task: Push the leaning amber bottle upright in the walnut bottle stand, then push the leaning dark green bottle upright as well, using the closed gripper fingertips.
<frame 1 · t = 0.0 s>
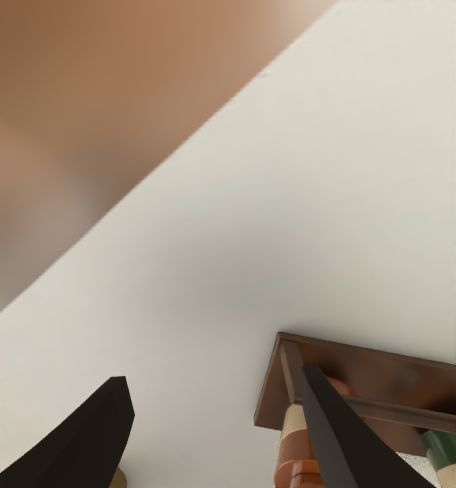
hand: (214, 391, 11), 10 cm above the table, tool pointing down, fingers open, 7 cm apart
amber bottle: (323, 459, 18), point 6 cm above the table, hinge at 18.0°
rack: (381, 398, 23), on the table
olive-brown tall rounded piece: (97, 478, 28), on the table
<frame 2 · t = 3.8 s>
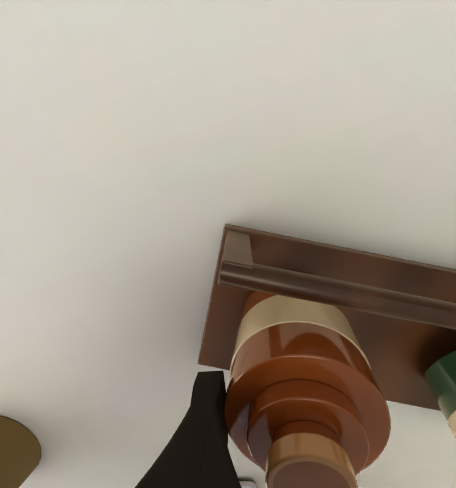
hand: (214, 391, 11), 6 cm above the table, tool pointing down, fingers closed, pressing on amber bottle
amber bottle: (297, 375, 12), point 5 cm above the table, hinge at 6.6°, touching gripper
rack: (371, 326, 17), on the table
olive-brown tall rounded piece: (4, 443, 21), on the table
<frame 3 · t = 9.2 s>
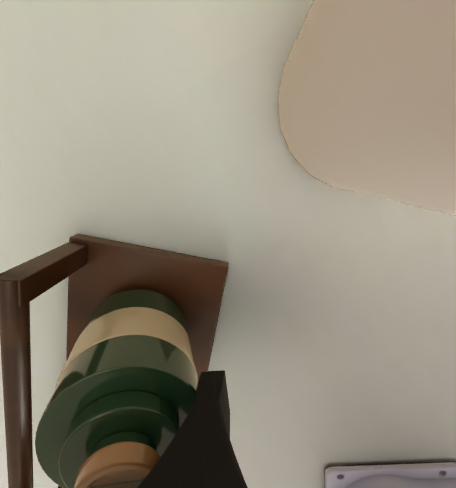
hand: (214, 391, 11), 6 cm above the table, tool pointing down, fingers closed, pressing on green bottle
rack: (137, 384, 19), on the table
green bottle: (131, 388, 12), point 6 cm above the table, hinge at 16.4°, touching gripper
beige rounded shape: (357, 103, 14), on the table
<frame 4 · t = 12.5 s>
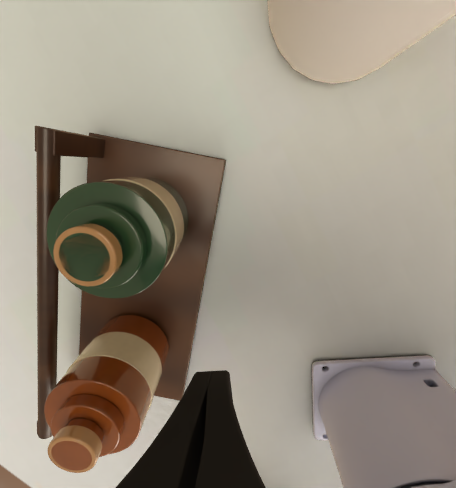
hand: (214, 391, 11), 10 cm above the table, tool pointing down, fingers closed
amber bottle: (109, 388, 18), point 5 cm above the table, hinge at 1.7°
rack: (145, 280, 21), on the table
green bottle: (125, 232, 15), point 5 cm above the table, hinge at 1.8°
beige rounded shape: (336, 10, 16), on the table
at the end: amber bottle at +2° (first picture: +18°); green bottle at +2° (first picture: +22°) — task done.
